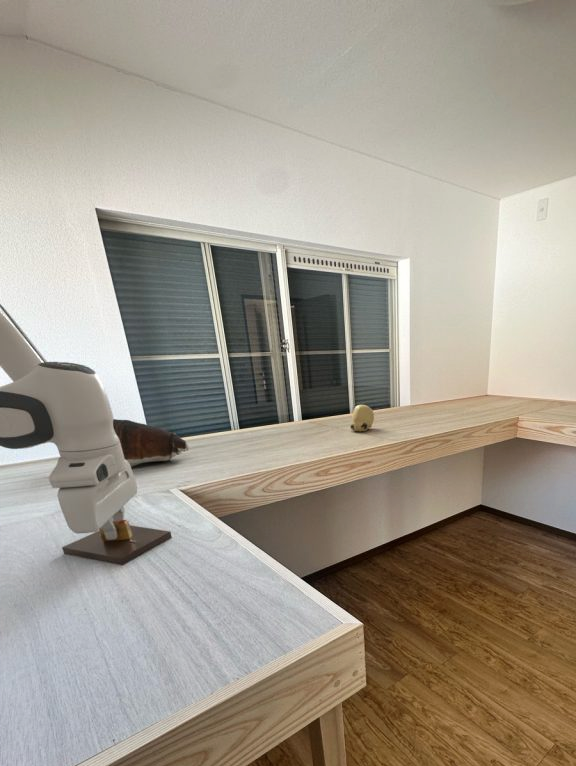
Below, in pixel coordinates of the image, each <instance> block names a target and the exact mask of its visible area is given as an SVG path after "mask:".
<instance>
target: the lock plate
mask: <svg viewBox="0 0 576 766" xmlns="http://www.w3.org/2000/svg"><path fill="white" fill-rule="evenodd" d="M129 525H130V529H131V532H132V537H131V538H130V539H126V540H115V541H105V542H103V541H102V537H101V534H100V531H99V530H98V531H96V532H92V533H90V534H89V535H86V536H83V537H81V538H80V539H77V540H75V541H73V542H70V543H69V544H67V545H64V546H62V547H61V549H62V552H63V554H64V555H67V556H72V557H77V558H83V559H88V560H92V561H97V562H104V563H109V564H113V565H119V566H124V565H126V564H128V563H130V562H132V561H133V560H135V559H137V558H138V557H140V556H142V555H144V554H146V553H148V552H150V551H152V550H153V549H155V548H156V547H158V546H160V545H162V544H164V543H165V542H167V541H169V540H171V539H173V537H172V532H171V531H169V530H163V529H156V528H149V527H144V526H139V525H131V524H129Z"/></svg>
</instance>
